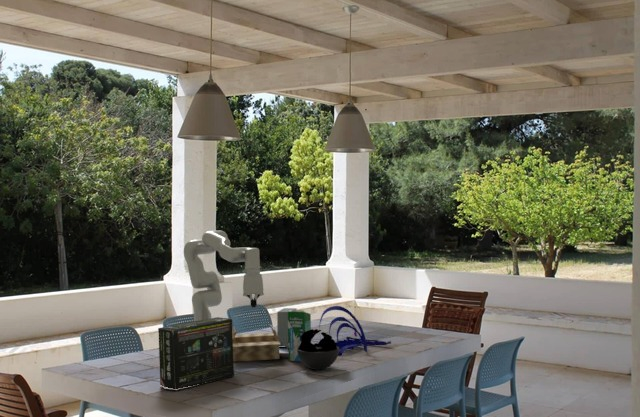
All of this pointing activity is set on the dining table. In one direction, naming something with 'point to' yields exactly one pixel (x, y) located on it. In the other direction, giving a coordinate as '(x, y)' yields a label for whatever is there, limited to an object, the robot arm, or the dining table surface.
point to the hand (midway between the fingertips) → (253, 307)
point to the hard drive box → (283, 325)
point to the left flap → (233, 332)
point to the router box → (196, 352)
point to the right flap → (274, 332)
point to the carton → (255, 347)
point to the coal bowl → (317, 350)
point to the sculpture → (355, 342)
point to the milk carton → (297, 331)
